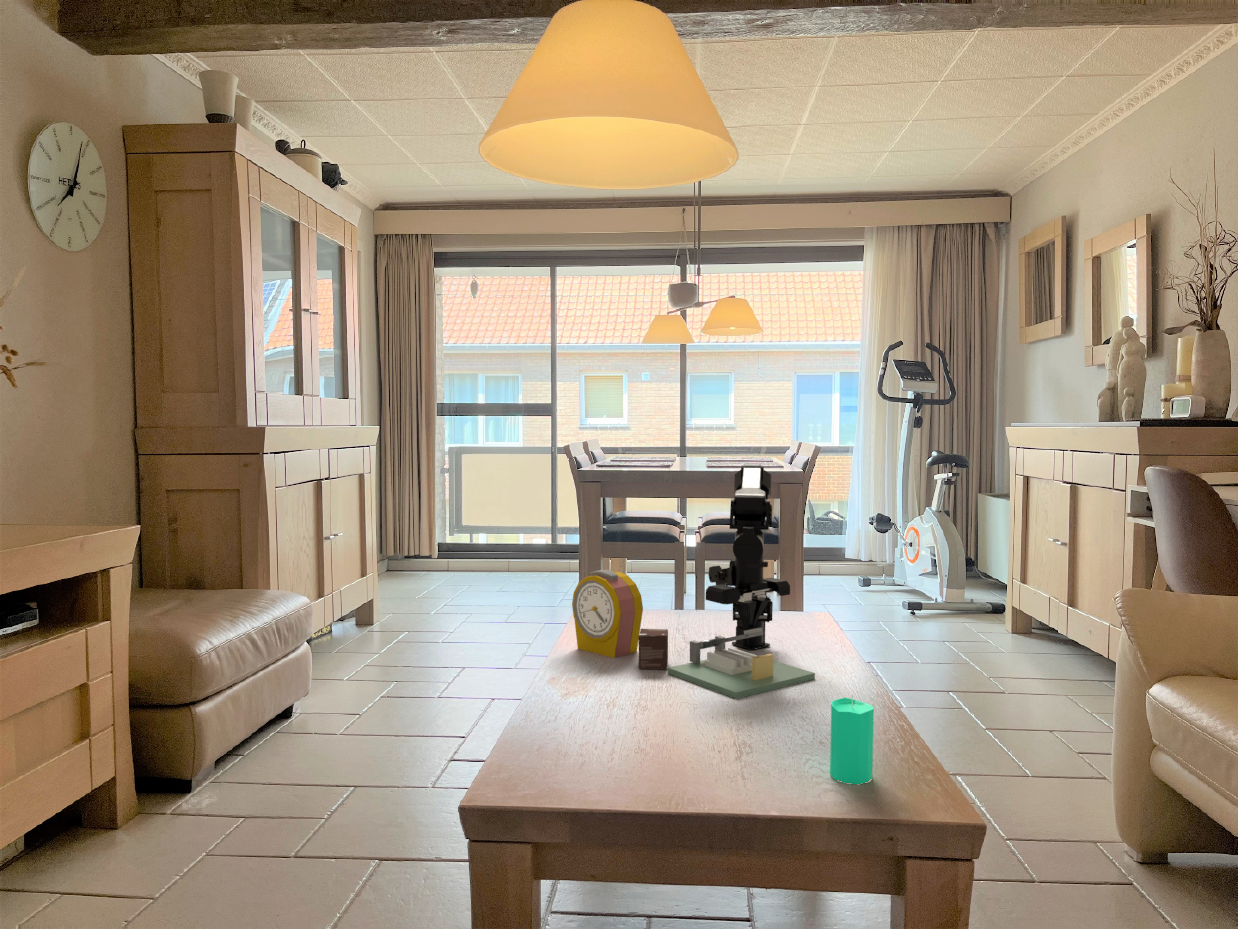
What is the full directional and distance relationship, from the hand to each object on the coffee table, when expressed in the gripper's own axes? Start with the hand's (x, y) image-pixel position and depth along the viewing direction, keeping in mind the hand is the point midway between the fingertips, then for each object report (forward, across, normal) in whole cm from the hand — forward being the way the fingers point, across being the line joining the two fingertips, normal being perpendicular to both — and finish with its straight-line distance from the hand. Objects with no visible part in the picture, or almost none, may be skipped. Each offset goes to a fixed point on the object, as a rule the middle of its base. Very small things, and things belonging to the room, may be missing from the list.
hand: (747, 633), depth 169 cm
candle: (+10, +22, +43) cm, 49 cm away
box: (+10, +10, -18) cm, 23 cm away
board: (+9, 0, -2) cm, 9 cm away
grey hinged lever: (+3, 0, -5) cm, 6 cm away
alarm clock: (+10, +11, -34) cm, 37 cm away
